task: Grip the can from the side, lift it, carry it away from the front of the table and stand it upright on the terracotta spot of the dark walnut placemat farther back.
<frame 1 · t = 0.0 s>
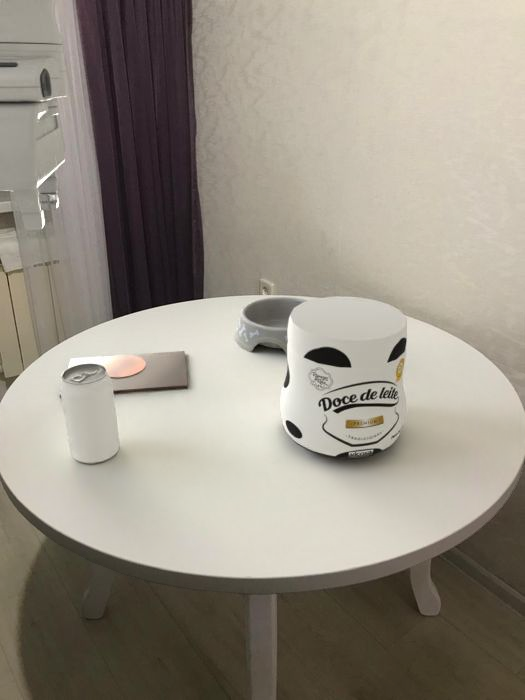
hand: (43, 218, 64), 32 cm above the table, tool pointing down, fingers open, 8 cm apart
dog bowl: (282, 337, 114), on the table
placemat: (126, 374, 100), on the table
milk container: (340, 434, 84), on the table
can: (96, 452, 80), on the table
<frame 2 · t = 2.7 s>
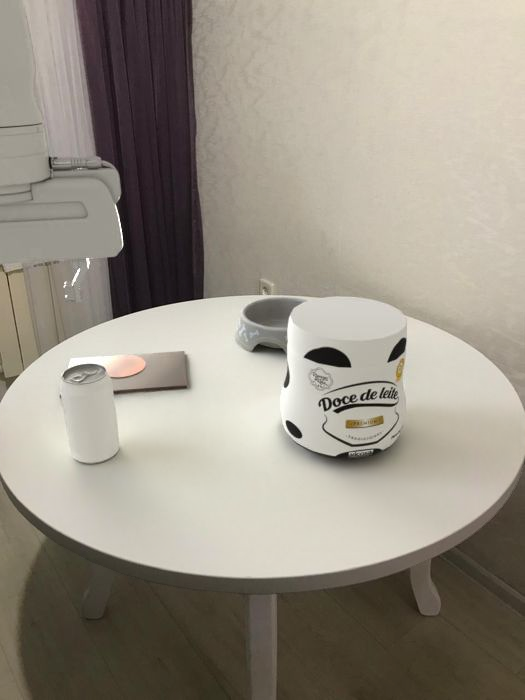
hand: (25, 304, 58), 26 cm above the table, tool pointing down, fingers open, 8 cm apart
nothing on the table moved.
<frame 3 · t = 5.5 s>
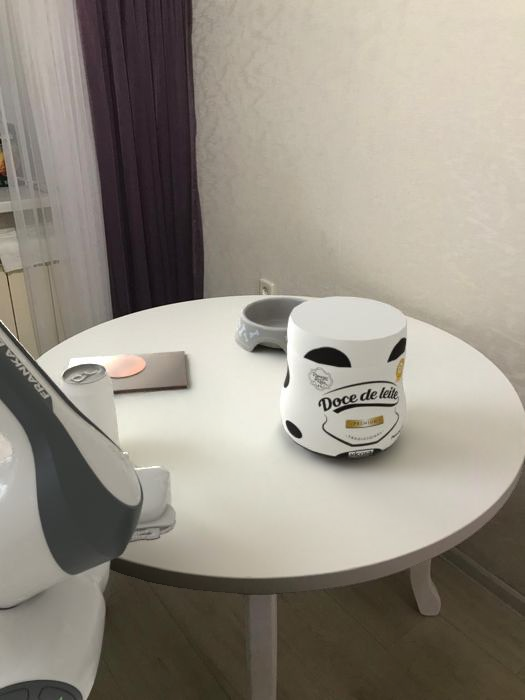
hand: (79, 461, 66), 7 cm above the table, tool horizontal, fingers open, 8 cm apart
nothing on the table moved.
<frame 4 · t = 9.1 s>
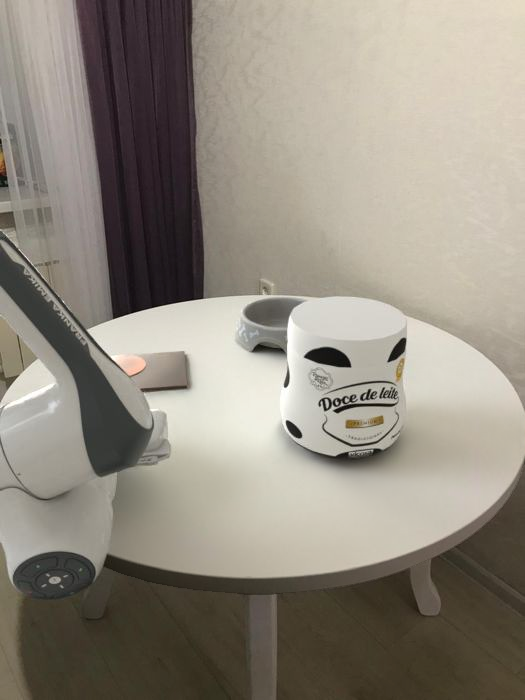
hand: (90, 406, 78), 7 cm above the table, tool horizontal, fingers closed on can, 6 cm apart
can: (96, 452, 80), on the table, touching gripper
everything else where it was.
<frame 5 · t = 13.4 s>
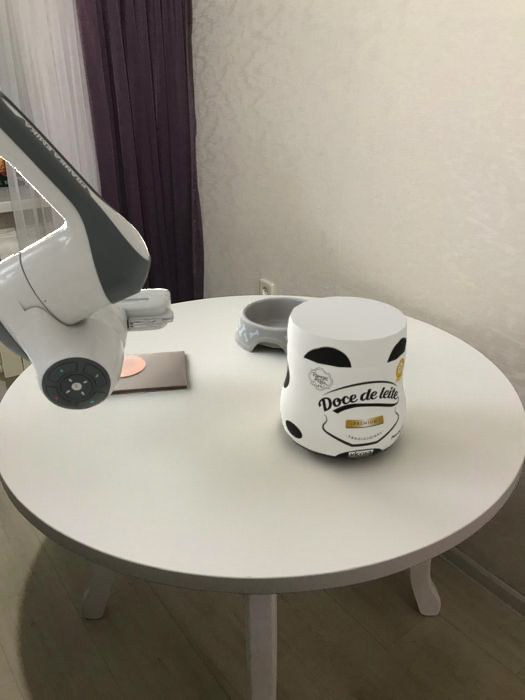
hand: (102, 291, 88), 17 cm above the table, tool horizontal, fingers closed on can, 6 cm apart
can: (107, 334, 90), point 10 cm above the table, touching gripper
everything else where it was.
when the fingers open (7 cm above the table, at t = 17.7 s): can stays where it is, resting on placemat.
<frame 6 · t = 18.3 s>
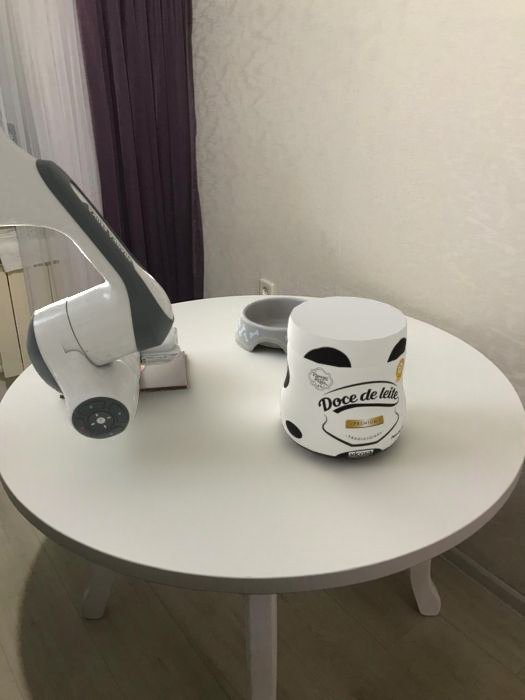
hand: (116, 326, 99), 8 cm above the table, tool horizontal, fingers open, 8 cm apart
can: (121, 367, 101), point 1 cm above the table, touching placemat
everything else where it was.
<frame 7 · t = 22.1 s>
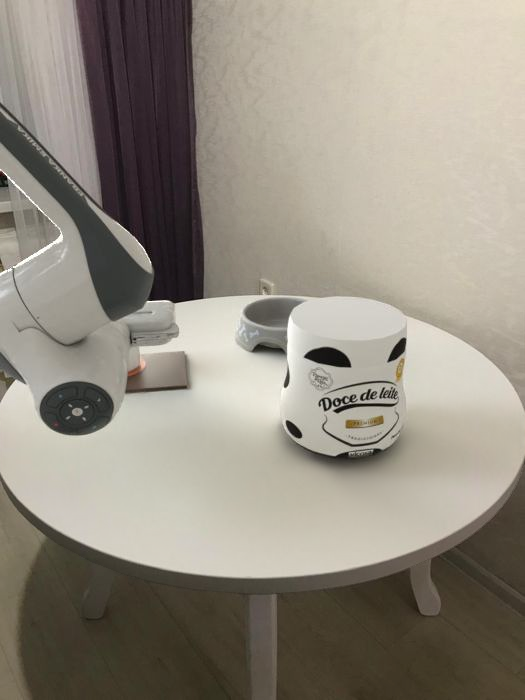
hand: (103, 302, 84), 17 cm above the table, tool horizontal, fingers open, 8 cm apart
nothing on the table moved.
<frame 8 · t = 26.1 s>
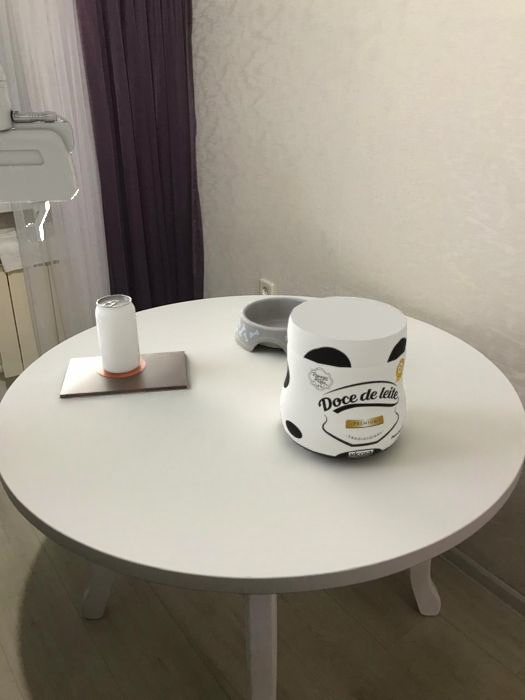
nothing on the table moved.
at the end: can inside the target area on the placemat (0.1 cm from its centre), point 0.5 cm above the placemat's base; can tilted 0°; the gripper is holding nothing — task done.
